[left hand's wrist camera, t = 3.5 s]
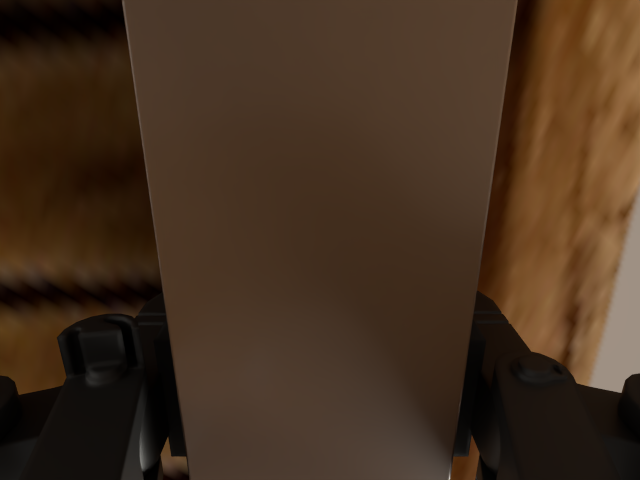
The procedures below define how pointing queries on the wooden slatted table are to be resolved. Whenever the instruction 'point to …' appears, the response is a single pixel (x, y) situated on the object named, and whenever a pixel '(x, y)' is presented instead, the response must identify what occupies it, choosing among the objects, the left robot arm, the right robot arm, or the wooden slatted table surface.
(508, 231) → the wooden slatted table surface
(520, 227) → the wooden slatted table surface
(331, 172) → the bar
